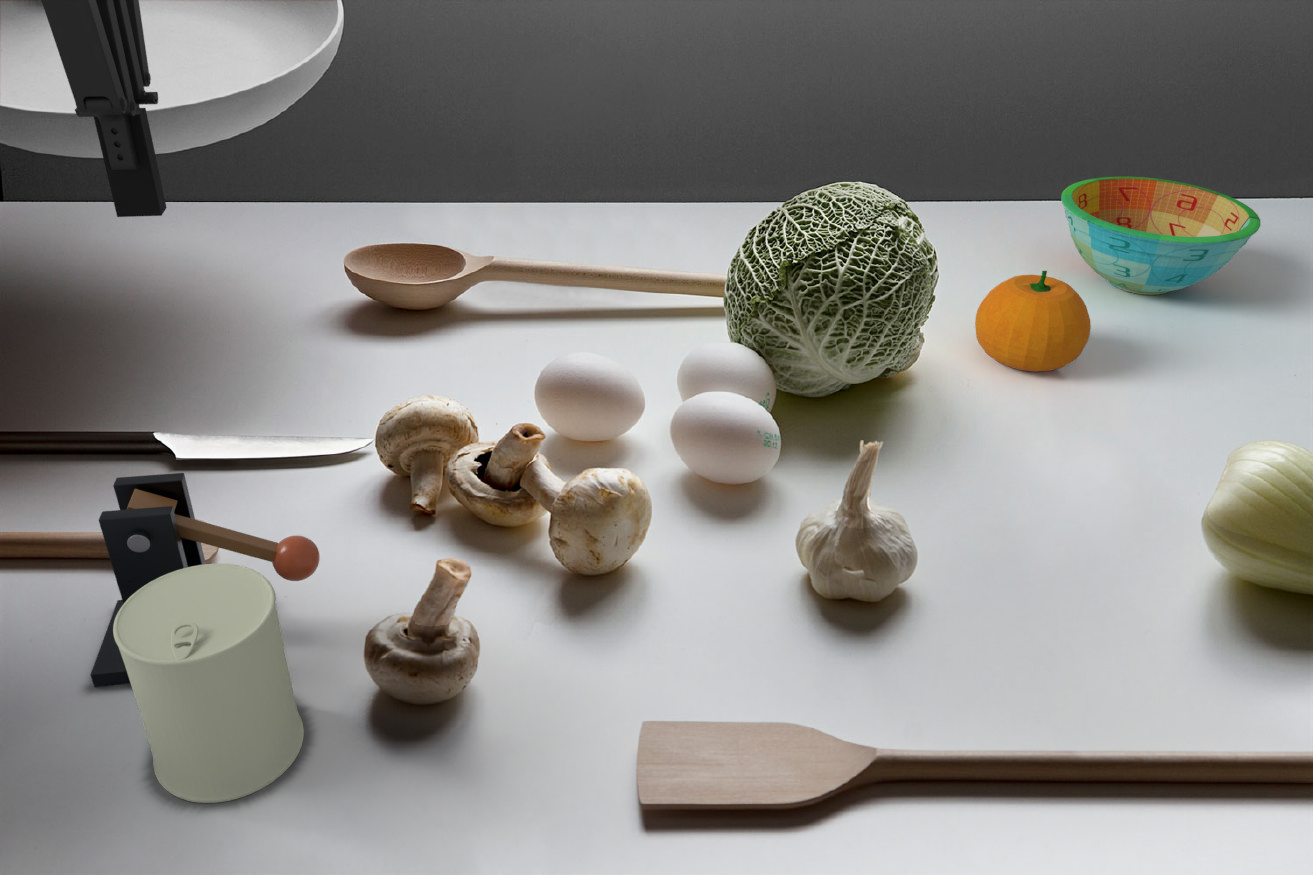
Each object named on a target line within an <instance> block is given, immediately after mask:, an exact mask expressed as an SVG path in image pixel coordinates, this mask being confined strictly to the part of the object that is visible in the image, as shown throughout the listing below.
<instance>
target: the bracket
mask: <svg viewBox="0 0 1313 875" xmlns="http://www.w3.org/2000/svg"><path fill="white" fill-rule="evenodd" d="M112 486H113V490H114V493H115V497H116V500H117V504H118V507H119V509H117V510H115V509H114V510H103V511H101V512H100V515H99V518H98V523H99V526H100V530H101V533H102V536H103V540H104V544H105V547H106V550H107V553H108V557H109V560H110V564H111V566H112V570H113V573H114V576H115V581H116V584H117V586H118V591H119V594H120V597H121V599H118V600H116V603H115V607H114V609H113V612H112V615H111V617H110V620H109V623H108V626H107V628H106V631H105V634H104V636H103V639H102V642H101V644H100V646H99V650H98V652H97V655H96V658H95V660H94V664H93V666H92V669H91V672H90V678H91V681H92V684H93V687H94V688H100V687H111V686H121V685H131V683H130V680H129V676H128V673H127V670H126V667H125V664H124V661H123V658H122V655H121V653H120V650H119V647H118V645H117V643H116V641H115V639H114V634H113V626H114V621H115V618H116V615H117V613H118V611H119V610H120V608H121V607H122V605H123V604H124V603H125V602H126V601H127V599H128V598H129V597H130V596H132V595H133V594H134V593H135V592H136V591H138V590H139V589H140V588H142V587H143V586H145V585H146V584H148V583H149V582H151V581H153V580H155V579H157V578H159V577H161V576H163V575H166V574H168V573H171V572H174V571H177V570H180V569H184V568H187V567H192V566H197V565H205V564H207V563H206V559H205V554H204V550H203V546H202V543H200V542H197V541H193V540H189V539H186V538H182V537H180V534H179V530H178V526H177V522H176V518H175V514H177V515H180V516H184V517H187V518H191V519H195V520H196V517H195V512H194V509H193V505H192V500H191V496H190V492H189V488H188V482H187V480H186V475H185V472H176V473H175V472H174V473H162V474H161V473H159V474H148V475H135V476H133V475H132V476H120V477H116V478H115V480H114V482H113V485H112ZM135 489H138V490H142V491H145V492H149V493H152V494H156V495H159V496H163V497H166V498H170V499H173V500H177V501H178V502H177V505H176V508H175V511H174V510H173V507H172V506H166V507H153V508H140V509H127V507H128V505H129V502H130V500H131V497H132V495H133V492H134V490H135Z"/></svg>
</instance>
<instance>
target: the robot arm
mask: <svg viewBox="0 0 1313 875" xmlns="http://www.w3.org/2000/svg"><path fill="white" fill-rule="evenodd" d="M40 1H41V4H42V7H43V9H44V13H45V16H46V18H47V22H48V24H49V27H50V30H51V33H52V36H53V40H54V42H55V45H56V50H57V52H58V54H59V57H60V61H61V63H62V67H63V69H64V72H65V76H66V79H67V82H68V85H69V88H70V91H71V93H72V97H73V99H74V103H75V106H76V107H75V108H74V112H75V114H76V116H77V117H78V118H93V121H94V126H95V128H96V133H97V137H98V142H99V146H100V150H101V154H102V158H103V162H104V166H105V171H106V175H107V179H108V183H109V184H108V185H109V188H110V191H111V192H110V193H111V197H112V201H113V205H114V208H115V213H116V217H117V218H130V217H131V218H133V217H162V216H163V214H164V213H165V211H166V210H167V203H166V198H165V194H164V189H163V185H162V179H161V175H160V170H159V165H158V161H157V160H158V159H157V156H156V150H155V146H154V142H153V137H152V132H151V127H150V123H149V118H148V114H147V109H146V107H140V105H142V106H143V105H158V103H159V94H158V91H146V90H145V88H146V87H147V88H148V87H150V85H151V80H152V77H151V73H150V70H149V63H148V56H147V49H146V41H145V34H144V27H143V22H142V14H141V7H140V6H141V5H140V0H40Z"/></svg>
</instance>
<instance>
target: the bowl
mask: <svg viewBox="0 0 1313 875" xmlns="http://www.w3.org/2000/svg"><path fill="white" fill-rule="evenodd" d="M1060 196H1061V197H1060V198H1061V199H1060V200H1061V204H1062V206H1063V208H1064V216H1065V219H1066V221H1067V223H1068V228H1069V232H1070V237H1071V239H1072V241H1073V244H1074V246H1075V248H1076V250H1077V252H1078V253H1079V254H1080V257H1081V258H1082V259H1083V261H1084V262H1085V263H1086V264H1087V266H1089V267H1090V268H1091V269H1092V270H1093V271H1094V272H1095V273H1096V274H1098V275H1099V276H1101V277H1102V278H1103V279H1105V280H1106V281H1108V282H1109V283H1110V285H1112V286H1114V287H1115V288H1117V289H1120V290H1122V291H1125V292H1128V293H1133V294H1138V295H1145V296H1146V295H1147V296H1156V295H1163V294H1166V293H1168V292H1173V291H1178V290H1182V289H1185V288H1188V287H1191V286H1194V285H1196V284H1198V283H1200V282H1203V281H1204V280H1206V279H1208V278H1209V277H1212V276H1213V275H1214V274H1216V273H1217V272H1218V271H1220V270H1221V269H1222V268H1223V267H1224V266H1226V265H1227V264H1228V263H1229V262H1230V261H1231V260H1232V259H1233V258H1234V256H1235V255H1236V254H1237V253H1238V252H1239V250H1240V249H1242V248H1243V247H1244V246H1246V244H1247V242H1248V241H1249V240H1250V239H1251V237H1253V235H1255V234H1256V233H1257V232H1258V231H1259V229H1260V228H1261V218H1260V216H1259V214H1258V213H1257V212H1256V211H1254V209H1253V208H1252V207H1250V206H1248V205H1247V204H1245V203H1243V202H1242V201H1240V200H1238V199H1236V198H1235V197H1231V196H1229V195H1227V194H1224V193H1222V192H1219V191H1216V190H1213V189H1210V188H1206V187H1203V186H1200V185H1195V184H1191V183H1186V182H1181V181H1175V180H1170V179H1164V178H1163V179H1161V178H1154V177H1145V176H1103V177H1096V178H1088V179H1085V180H1080V181H1078V182H1074V183H1072V184H1070V185H1069V186H1067V187H1066V188H1065V189H1064V190H1063V191H1062V193H1061V195H1060Z"/></svg>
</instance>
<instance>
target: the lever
mask: <svg viewBox="0 0 1313 875" xmlns="http://www.w3.org/2000/svg"><path fill="white" fill-rule="evenodd" d="M177 502H178V501H177V500H173V499H170V498H166V497H163V496H159V495H156V494H152V493H149V492H145V491H142V490H138V489H135V490H134V492H133V495H132V497H131V500H130V502H129V505H128V507H127V509H140V508H153V507H166V506H172V507H173V510H174V511H175V508H176V505H177ZM175 518H176V522H177V526H178V530H179V534H180V537H182V538H186V539H189V540H193V541H197V542H200V543H201V544H204V545H208V546H211V547H215V548H219V549H222V550H227V551H230V552H234V553H237V554H241V555H245V556H248V557H252V558H256V559H259V560H263V561H266V562H270V563H272V567H273V569H274V571H275V572H276V574H277V575H278V576H280V577H281V579H283V580H287V581H289V582H290V581H291V582H300V581H305V580H307V579H308V578H309V577H311V576H313V574H314V573H315V572H316V570H317V569H318V567H319V565H320V558H321V554H320V551H319V548H318V546H317V544H316V543H315V542H313V541H312V539H310V538H308V537H306V536H303V535H290V536H287V537H284V538H283V539H282V540H280V541H279V542H276V541H273V540H270V539H266V538H262V537H258V536H254V535H251V534H249V533H245V532H240V531H237V530H234V529H230V528H226V527H223V526H219V525H215V524H212V523H209V522H205V521H201V520H198V519H196V518H195V519H191V518H187V517H184V516H180V515H177V514H175Z"/></svg>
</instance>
